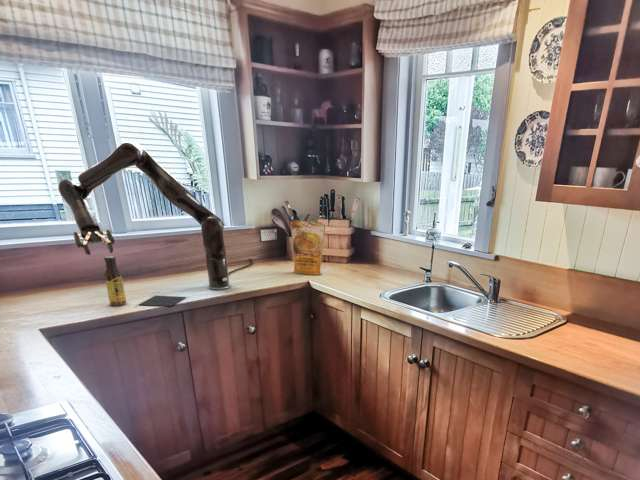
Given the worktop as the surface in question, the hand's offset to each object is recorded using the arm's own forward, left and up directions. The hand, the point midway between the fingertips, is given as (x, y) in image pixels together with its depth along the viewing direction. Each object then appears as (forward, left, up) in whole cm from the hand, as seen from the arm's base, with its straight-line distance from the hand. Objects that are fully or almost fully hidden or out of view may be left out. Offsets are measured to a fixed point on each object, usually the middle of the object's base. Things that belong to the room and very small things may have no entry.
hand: (100, 252), depth 196 cm
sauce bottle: (+7, +8, -20) cm, 23 cm away
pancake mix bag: (-66, +75, -20) cm, 102 cm away
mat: (0, +24, -20) cm, 31 cm away
